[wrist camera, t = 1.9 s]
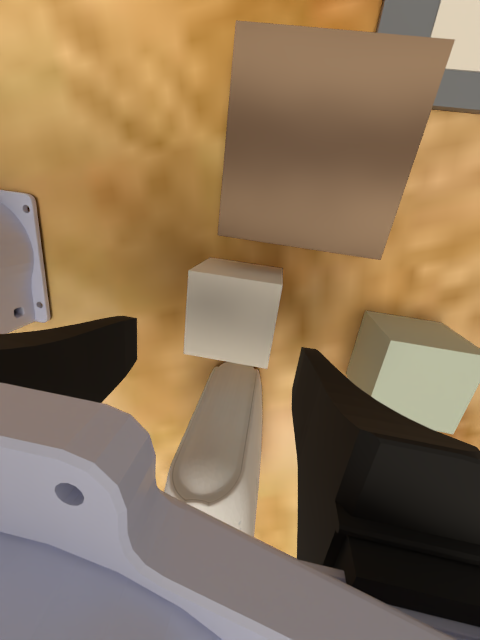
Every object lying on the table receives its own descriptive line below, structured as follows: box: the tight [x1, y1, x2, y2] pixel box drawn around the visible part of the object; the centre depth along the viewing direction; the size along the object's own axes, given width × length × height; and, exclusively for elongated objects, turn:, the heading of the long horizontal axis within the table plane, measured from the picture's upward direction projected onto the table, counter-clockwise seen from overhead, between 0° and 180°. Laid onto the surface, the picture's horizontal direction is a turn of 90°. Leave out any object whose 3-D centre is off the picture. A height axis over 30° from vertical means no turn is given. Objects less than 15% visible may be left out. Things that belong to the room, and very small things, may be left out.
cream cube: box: [184, 257, 283, 369], centre depth 18 cm, size 5×5×5 cm
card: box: [376, 0, 480, 114], centre depth 14 cm, size 6×8×1 cm
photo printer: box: [164, 362, 262, 537], centre depth 18 cm, size 10×4×12 cm, turn 1°
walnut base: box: [218, 21, 455, 260], centre depth 15 cm, size 9×9×3 cm
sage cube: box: [346, 310, 480, 434], centre depth 18 cm, size 5×5×5 cm
